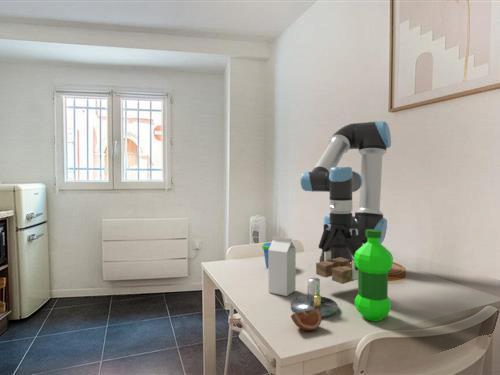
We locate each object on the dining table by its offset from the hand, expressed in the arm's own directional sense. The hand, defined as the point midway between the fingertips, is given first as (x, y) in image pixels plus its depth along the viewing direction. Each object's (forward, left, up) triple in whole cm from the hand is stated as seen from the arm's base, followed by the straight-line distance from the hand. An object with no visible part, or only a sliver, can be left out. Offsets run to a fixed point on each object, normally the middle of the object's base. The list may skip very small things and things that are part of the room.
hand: (341, 273), depth 116 cm
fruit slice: (+29, +14, -7) cm, 32 cm away
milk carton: (+17, -12, -7) cm, 21 cm away
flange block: (0, 0, 0) cm, 1 cm away
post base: (+18, +5, -6) cm, 20 cm away
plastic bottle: (+8, +19, -7) cm, 22 cm away
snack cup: (+1, -38, -7) cm, 38 cm away
